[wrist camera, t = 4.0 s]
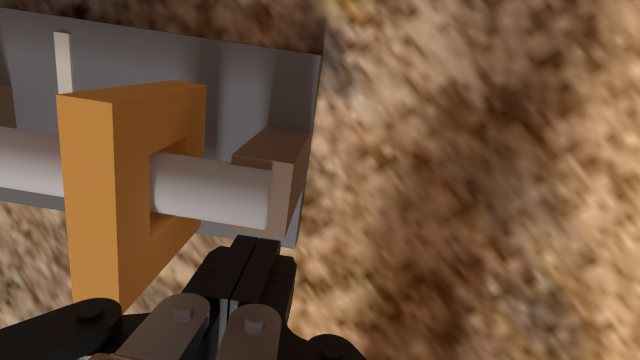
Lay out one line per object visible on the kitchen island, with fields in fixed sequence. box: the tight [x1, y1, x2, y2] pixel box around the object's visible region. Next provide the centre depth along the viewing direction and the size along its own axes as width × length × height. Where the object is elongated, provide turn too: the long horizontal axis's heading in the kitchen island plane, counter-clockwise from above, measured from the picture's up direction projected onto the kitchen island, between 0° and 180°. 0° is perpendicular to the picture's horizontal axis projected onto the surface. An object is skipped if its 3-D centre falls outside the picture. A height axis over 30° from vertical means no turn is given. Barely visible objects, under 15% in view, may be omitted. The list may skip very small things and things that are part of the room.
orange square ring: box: [56, 80, 207, 315], centre depth 19 cm, size 2×9×9 cm, turn 172°
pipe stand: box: [0, 7, 323, 249], centre depth 23 cm, size 24×14×12 cm, turn 82°
